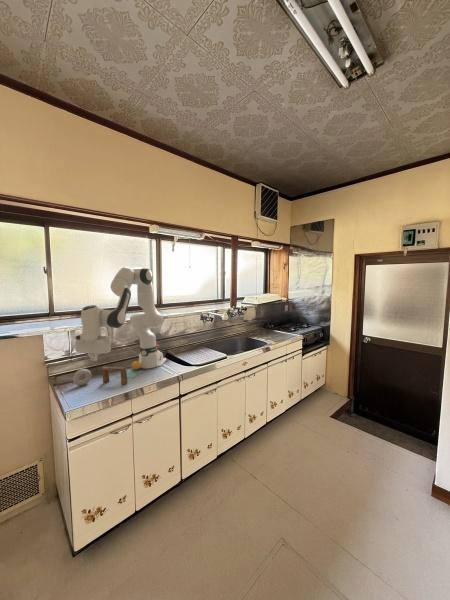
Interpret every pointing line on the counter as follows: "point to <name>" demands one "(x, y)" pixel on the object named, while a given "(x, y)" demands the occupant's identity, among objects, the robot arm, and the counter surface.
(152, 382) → the counter surface
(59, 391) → the counter surface
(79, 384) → the donut
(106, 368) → the bridge
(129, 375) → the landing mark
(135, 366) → the ball
